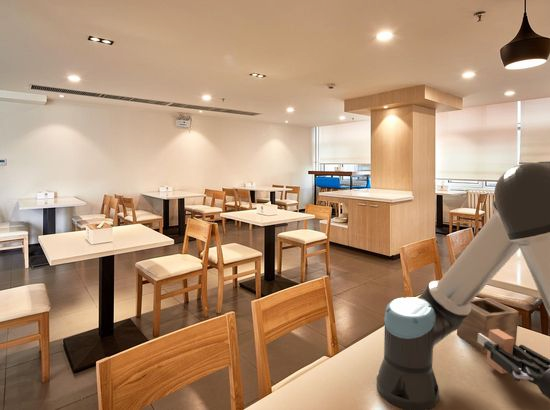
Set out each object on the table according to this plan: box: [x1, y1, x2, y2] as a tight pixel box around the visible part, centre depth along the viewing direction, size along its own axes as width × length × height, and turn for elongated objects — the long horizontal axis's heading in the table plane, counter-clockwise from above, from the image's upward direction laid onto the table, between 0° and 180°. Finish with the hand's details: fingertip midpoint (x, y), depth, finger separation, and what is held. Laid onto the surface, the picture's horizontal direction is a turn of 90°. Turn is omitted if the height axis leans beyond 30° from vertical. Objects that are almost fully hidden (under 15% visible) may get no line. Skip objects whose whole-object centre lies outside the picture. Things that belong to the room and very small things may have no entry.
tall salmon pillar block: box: [486, 329, 514, 374], centre depth 92 cm, size 3×5×10 cm, turn 11°
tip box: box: [456, 297, 519, 353], centre depth 107 cm, size 12×11×12 cm
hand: (484, 336), depth 97 cm, fingers closed on tall salmon pillar block, 3 cm apart
